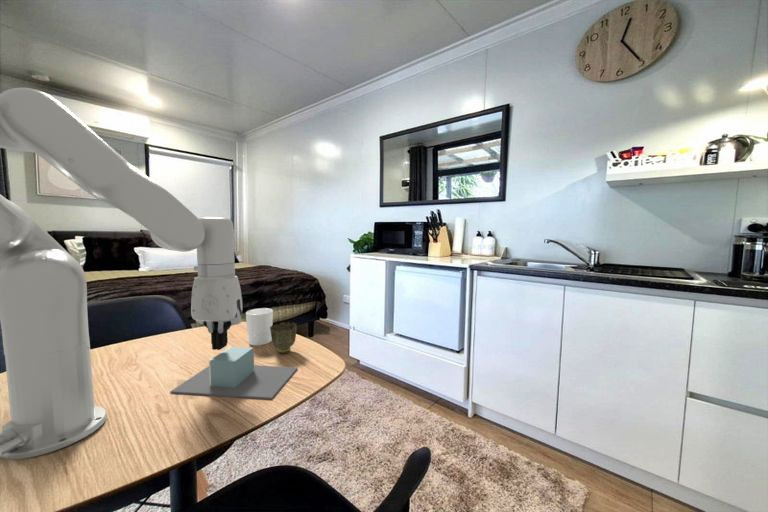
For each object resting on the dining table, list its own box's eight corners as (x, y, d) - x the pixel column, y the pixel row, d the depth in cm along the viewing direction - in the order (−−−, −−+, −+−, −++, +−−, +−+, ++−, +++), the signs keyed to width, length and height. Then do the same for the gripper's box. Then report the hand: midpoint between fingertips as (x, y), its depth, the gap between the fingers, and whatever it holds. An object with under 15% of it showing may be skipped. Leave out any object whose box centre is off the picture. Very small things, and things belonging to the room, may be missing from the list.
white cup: (278, 340, 96) (278, 310, 95) (257, 348, 90) (256, 316, 89) (263, 335, 100) (262, 306, 100) (241, 343, 94) (240, 312, 93)
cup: (270, 349, 89) (270, 323, 89) (296, 345, 92) (295, 320, 91) (270, 359, 82) (269, 330, 82) (298, 355, 85) (297, 328, 84)
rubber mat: (271, 399, 62) (271, 397, 62) (170, 393, 65) (170, 391, 65) (297, 369, 76) (297, 367, 76) (213, 364, 79) (213, 363, 78)
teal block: (209, 386, 67) (235, 387, 66) (208, 360, 66) (234, 361, 66) (231, 369, 75) (254, 370, 74) (230, 346, 74) (253, 347, 74)
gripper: (174, 272, 66) (178, 352, 67) (238, 273, 64) (240, 355, 66) (198, 268, 73) (201, 340, 75) (256, 269, 72) (258, 343, 73)
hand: (219, 347), depth 70 cm, fingers closed
